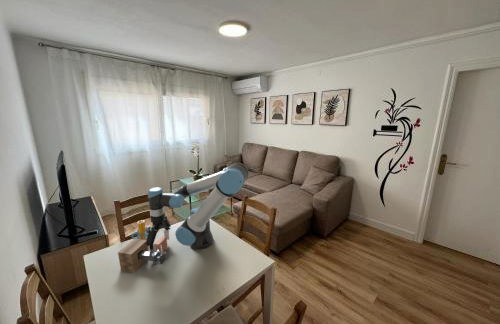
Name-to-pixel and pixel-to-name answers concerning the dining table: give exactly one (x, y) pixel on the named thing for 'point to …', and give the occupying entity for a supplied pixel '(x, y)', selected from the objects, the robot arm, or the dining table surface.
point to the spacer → (161, 244)
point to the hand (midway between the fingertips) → (160, 245)
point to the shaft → (152, 256)
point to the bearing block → (132, 255)
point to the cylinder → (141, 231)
